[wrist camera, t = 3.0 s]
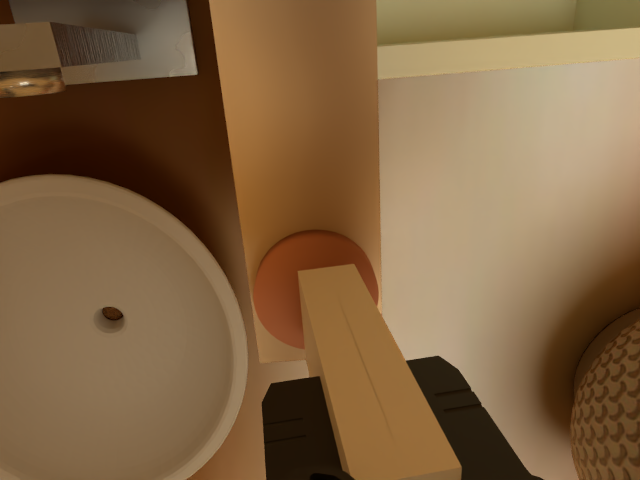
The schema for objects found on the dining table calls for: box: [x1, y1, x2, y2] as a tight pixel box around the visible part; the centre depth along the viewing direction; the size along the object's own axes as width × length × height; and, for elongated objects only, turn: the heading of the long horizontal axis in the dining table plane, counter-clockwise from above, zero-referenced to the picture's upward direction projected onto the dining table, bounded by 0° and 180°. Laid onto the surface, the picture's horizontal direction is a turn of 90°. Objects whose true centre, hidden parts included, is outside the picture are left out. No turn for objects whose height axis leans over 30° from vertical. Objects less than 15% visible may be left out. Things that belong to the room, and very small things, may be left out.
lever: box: [209, 0, 382, 363], centre depth 12 cm, size 22×18×6 cm
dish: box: [0, 174, 248, 480], centre depth 23 cm, size 18×14×5 cm
